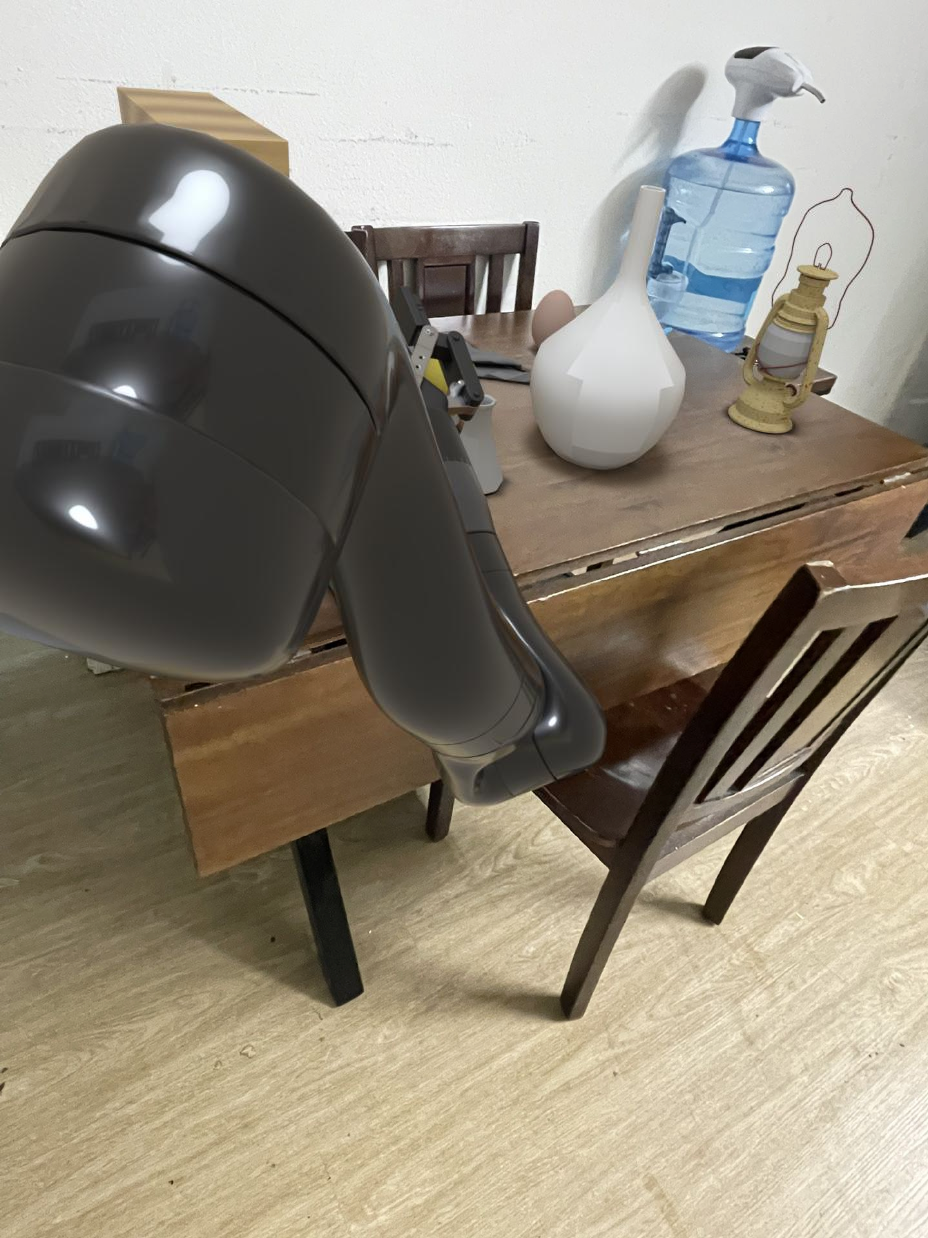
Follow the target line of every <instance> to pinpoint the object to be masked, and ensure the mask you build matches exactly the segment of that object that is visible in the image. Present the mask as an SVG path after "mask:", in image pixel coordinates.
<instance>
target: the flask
mask: <svg viewBox="0 0 928 1238" xmlns="http://www.w3.org/2000/svg"><path fill="white" fill-rule="evenodd" d="M497 401H498V400H497V399H496V398H494V397H493V396H491V395H490V394H486V393H484V399H483V401H482V402H481V404H480V406H479V407H478V409H477V411H476V412H475V414H474V416H473V418H472V419H471V420H470V421H464V422H463V426H462V429H461V432H460V433H459V435H460V438H461V440H462V442H463V445H464V447H465V450H466V452H467V455H468V457H469V459H470V462H471V464H472V466H473V469H474V471H475V473H476V476H477V478H478V481H479V483H480V485H481V488H482V490H483V493H484V495H486V494H490V493H495V492H497V490H498V489H499V487H500V486H501V484H502V483H503V481H504V477H503V472H502V468H501V465H500V461H499V456H498V454H497V448H496V443H495V439H494V433H493V420H492V419H493V418H492V417H493V411H494V409H493V408H494V407H495V406H496V405H497Z"/></svg>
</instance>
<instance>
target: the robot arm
mask: <svg viewBox="0 0 928 1238" xmlns="http://www.w3.org/2000/svg"><path fill="white" fill-rule="evenodd" d="M391 305H392V306H391ZM400 328H401V329H400ZM401 330H402V332H401ZM448 332H449V333H448V334H443V333H442V332H440V331H438V329H437V328H436V327H435V326H434V325H432V324H431V321H430V319H429V317H428V314H427V312H426V310H425V307H424V306H423V302H422V300H421V298H420V297H419V296H418V295H417V293H413V292H412V289H411V288H410V285H409V286H408V285H401V286H397V288H396V290H395V294H394V296H393V298H392V303H390V302H389V300H388V298H387V295H386V293H385V292H384V290H383V288H382V286H381V284H380V282H379V280H378V278H377V276H376V274H375V272H374V271H373V270H372V268H371V266H370V265H369V263H368V261H367V260H366V258H365V257H364V255H363V254H362V252H361V251H360V249H359V247H357V245H355V243H354V242H353V241H352V240H351V238H350V237H349V236H348V235H347V233H345V231H344V230H343V229H342V227H341V226H340V225H339V224H338V223H337V222H336V220H335V219H334V217H333V216H331V214H330V213H329V212H328V211H327V210H326V209H325V208H324V207H323V206H322V205H320V203H318V202H317V201H316V200H315V199H314V198H313V197H311V195H309V194H308V193H307V192H306V191H305V190H304V189H302V188H301V187H300V186H299V185H298V184H297V183H296V182H295V181H294V180H292V179H291V178H288V177H287V176H285V175H283V174H282V173H280V172H279V171H277V170H276V169H274V168H272V167H271V166H269V165H268V164H266V163H265V162H263V161H262V160H260V159H258V158H257V157H255V156H254V155H252V154H250V153H249V152H247V151H245V150H243V149H241V148H239V147H236V146H234V145H232V144H229V143H227V142H225V141H222V140H220V139H218V138H215V137H213V136H211V135H208V134H206V133H202V132H198V131H193V130H189V129H184V128H180V127H175V126H171V125H166V124H158V123H125V124H122V123H117V124H113V125H110V126H107V127H104V128H102V129H99V130H96V131H94V132H92V133H90V134H87V135H84V137H83V138H82V139H80V140H78V142H77V143H76V144H74V145H73V146H72V147H71V148H70V149H69V150H67V151H66V153H64V154H63V155H62V156H61V157H60V158H58V159H57V160H56V162H55V163H54V165H53V166H52V167H51V168H50V169H49V171H48V172H47V174H46V175H45V176H44V177H43V178H42V180H41V181H40V183H39V185H38V186H37V188H36V189H35V191H34V192H33V194H32V196H31V197H30V198H29V200H28V202H27V203H26V205H25V206H24V208H23V209H22V211H21V212H20V214H19V215H18V217H17V219H16V220H15V221H14V222H13V224H12V226H11V227H10V229H9V231H8V232H7V234H6V236H5V238H4V240H3V241H2V242H1V245H0V632H2V633H4V634H8V635H11V636H14V637H17V638H20V639H23V640H26V641H29V642H33V643H35V644H39V645H42V646H45V647H49V648H52V649H56V650H59V651H62V652H66V653H68V654H71V655H75V656H78V657H82V658H86V659H87V660H88V659H89V660H92V661H95V662H98V663H101V664H105V665H107V666H111V667H115V668H119V669H122V670H123V669H124V670H127V671H132V672H136V673H140V674H144V675H147V676H148V675H149V676H152V677H159V678H165V679H171V680H178V681H183V682H188V683H189V682H190V683H207V684H231V683H241V682H250V681H255V680H258V679H262V678H265V677H268V676H270V675H272V674H275V673H277V672H278V671H279V670H281V669H282V668H284V667H285V666H286V665H288V663H290V661H292V660H293V658H295V657H296V655H297V654H298V652H299V650H300V648H301V647H302V645H303V644H304V642H305V640H306V639H307V637H308V635H309V633H310V631H311V628H312V627H313V624H314V623H315V620H316V618H317V616H318V613H319V612H320V611H319V610H320V608H321V606H322V604H323V601H324V599H325V596H326V594H327V591H328V588H329V587H330V585H329V583H330V581H331V584H332V588H333V590H332V592H333V591H334V592H333V594H334V598H335V601H336V607H337V610H338V614H339V617H340V622H341V625H342V630H343V634H344V636H345V641H346V644H347V648H348V650H349V653H350V657H351V659H352V662H353V665H354V667H355V670H356V672H357V675H358V677H359V680H360V681H361V683H362V685H363V687H364V689H365V690H366V692H367V694H368V695H369V697H370V698H371V700H372V702H373V703H374V705H376V707H377V708H378V709H379V711H380V712H381V713H382V714H383V715H384V716H385V717H386V718H387V719H388V720H389V721H391V723H393V725H395V726H396V727H398V728H399V729H401V730H402V731H403V732H405V733H407V734H408V735H410V736H412V737H413V738H414V739H416V740H418V741H419V742H421V743H422V744H424V745H425V746H426V747H428V748H429V749H430V751H431V755H432V759H433V762H434V765H435V767H436V770H437V772H438V775H439V777H440V780H441V781H442V782H443V785H444V786H445V788H446V789H447V791H448V792H449V793H450V794H451V796H452V798H454V799H455V800H457V801H458V802H459V803H461V804H462V805H465V806H469V807H476V808H485V807H490V806H495V805H498V804H502V803H504V802H507V801H510V800H512V799H514V798H517V797H520V796H522V795H525V794H527V793H530V792H533V791H535V790H538V789H540V788H543V787H546V786H548V785H550V784H552V783H555V782H557V781H558V780H564V779H565V778H569V777H571V776H573V775H576V774H579V773H582V772H583V771H586V770H588V769H590V768H591V767H592V766H595V764H596V763H598V761H599V760H600V759H601V758H602V755H603V753H604V751H605V748H606V745H607V739H608V738H607V737H608V725H607V718H606V715H605V712H604V709H603V706H602V705H601V703H600V700H599V699H598V697H597V695H596V693H594V691H593V689H592V688H591V687H590V686H589V684H588V683H587V681H586V680H585V679H584V678H583V676H582V675H581V674H580V673H579V672H578V671H577V669H576V668H575V667H574V665H573V664H572V663H571V662H570V661H569V659H568V658H567V657H566V656H565V655H564V654H563V652H562V651H561V650H560V648H558V646H557V645H556V644H555V642H554V641H553V639H551V638H550V636H549V635H548V632H546V630H545V629H544V628H543V626H542V625H541V624H540V622H539V620H538V619H537V617H536V615H535V614H534V612H533V611H532V609H531V607H530V605H529V604H528V602H527V600H526V598H525V596H524V595H523V593H522V590H521V589H520V587H519V584H518V582H517V579H516V578H515V575H514V574H513V573H514V572H513V570H512V568H511V566H510V564H509V561H508V559H507V556H506V554H505V551H504V549H503V547H502V544H501V542H500V539H499V537H498V534H497V532H496V528H495V525H494V521H493V516H492V513H491V510H490V506H489V504H488V500H487V497H486V494H484V493H483V490H482V488H481V485H480V483H479V481H478V478H477V476H476V473H475V471H474V469H473V466H472V464H471V462H470V459H469V457H468V455H467V452H466V450H465V447H464V445H463V442H462V440H461V438H460V433H459V430H458V429H457V425H455V423H454V421H453V419H452V417H451V416H450V415H454V414H457V415H458V417H459V420H461V421H462V422H463V421H464V422H465V421H470V420H471V419H472V418H473V416H474V414H475V412H476V411H477V409H478V407H479V406H480V404H481V402H482V401H483V399H484V394H485V392H484V389H483V387H482V386H483V385H482V384H481V381H480V377H478V376H477V373H476V370H475V367H474V365H473V362H472V359H471V357H470V354H469V351H468V348H467V346H466V343H465V341H466V340H465V338H464V336H463V334H462V333H461V332H459V331H458V330H450V331H448ZM402 333H403V335H404V338H405V340H406V343H407V345H408V346H413V347H414V350H413V352H412V353H411V355H410V350H409V348H408V346H407V345H406V343H405V340H404V338H403V335H402ZM430 358H432V359H437V360H438V361H439V364H440V367H441V370H442V373H443V376H444V378H445V381H446V384H447V387H448V391H447V393H446V395H445V393H444V392H443V391H442V390H440V389H439V388H438V387H436V386H435V385H434V384H432V383H431V382H430V381H429V380H427V379H426V378H425V377H423V376H424V373H425V371H426V368H427V365H428V363H429V360H430ZM332 588H331V589H332Z"/></svg>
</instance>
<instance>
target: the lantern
mask: <svg viewBox="0 0 928 1238" xmlns="http://www.w3.org/2000/svg"><path fill="white" fill-rule="evenodd" d="M846 190H847V191H850V202H851V204H852V206H853V207H854V209H856V211H857V212H858V213H859V214H860V215H861V216H862V217H863V218H864V219H865V220H866V222H867V223H868V225H869V226H870V229H871V235H872V237H871V243H870V246H869V249H868V252H867V255H866V258H865V259H864V262H863V264H862V265H861V268H859V270H858V272H856V274H855V275H854V276H853V277H852V278H851V280H850V281H849V283H848V284H847V285H846V287H845V288H844V290H843V291H844V292H843V293H842V296H841V298H840V300H839V303H838V308H837V312H836V315H835V317H834V320H833V322H832V325H831V326H829V325H830V317H829V314H828V312H827V310H826V309H825V308H824V306H825V303H826V301H827V300H828V299H827V296H826V295H824V292H825V289H826V288H828V287H829V285H830V283H831V281H835V280H838V279H839V277H840V275H839V273H837V272H836V271H834V270H832V269H830V268H827V267H828V265H829V263H830V261H831V259H832V256H833V248H832V246H831V244H830V243H829V242H824V243H822V244H821V245H819V247H817V249H816V252H815V254H814V259H813V263H812V264H800V265H797V266H796V271H797V272H798V273H800V274H799V277H798V286H797V288H792V289H791V290H790V292H786V293H783V294H781V295H780V296H779V297H777V299H775V301H774V295H775V293H776V291H777V289H778V288H779V286H780V284H781V283H782V282H783V280H784V279H785V278H786V276H787V273H788V269H789V267H790V262H791V260H792V257H793V255H794V247H795V243H796V238H797V235H798V233H799V231H800V228H801V227H802V225H803V223H804V221H805V219H806V217H807V215H808V214H809V213H810V211H811V210H812V209H814V208H815V207H817V206H820V205H821V204H824V203H829V202H832V201H834V200H836V199H838V198H839V197H840V196H841V195H842V193H843V192H844V191H846ZM853 196H854V190H853V189H852V188H850V187H844V188H842V189H841V191H840V192H839V194H837V195H836V196H835V197H833V198H830V199H826V200H822V201H820V202H818V203H816V204H814V205H812V206H811V207H809V208H808V209H807V211H806V212H805V213H804V215H803V217H802V219H801V222H800V224H799V225H798V228H797V229H796V231H795V233H794V235H793V239H792V245H791V250H790V251H791V252H790V255H789V259H788V261H787V264H786V268H785V271H784V274H783V276H782V277H781V279H780V280H779V282H778V283H777V285H776V286H775V288H774V290H773V291H772V294H771V308H770V309H769V312H768V313H767V316H766V318H765V320H764V321H763V323H762V325H761V327H760V329H759V331H758V333H757V334H756V336H755V338H754V341H753V342H752V344H751V347H750V348H749V350H748V353H747V355H746V357H745V359H744V362H743V365H742V377H743V381H744V383H745V384H746V385H748V386H747V387H746V388H744V389H743V390H742V391H741V392H740V393H739V395H738V397H737V400H736V402H735V404H732V405H731V406H730V407H729V408H728V410H727V413H728V415H729V418H730V419H731V420H732V421H733V422H735V423H736V424H738V425H740V426H742V427H744V428H747V429H749V430H752V431H757V432H762V433H769V434H784V433H787V432H789V431H791V430H792V429H793V421H792V420H791V418H792V417H791V416H792V414H793V412H794V409H798V408H799V407H801V406H802V405H803V404H804V403H805V402H806V401H807V400H808V398H809V397H810V395H811V391H812V388H813V385H814V382H815V378H816V375H817V372H818V368H819V364H820V362H821V356H822V353H823V349H824V346H825V341H826V337H827V334H828V330H831V329H832V328H833V327H834V326H835V323H836V321H837V319H838V317H839V314H840V310H841V307H842V302H843V299H844V298H845V296H846V293H847V291H848V289H849V287H850V285H851V284H852V283H853V282H854V280H855V279H856V278H857V277H858V275H859V274H860V273H861V272H862V270H863V269H864V267H865V265H866V264H867V262H868V259H869V257H870V255H871V252H872V248H873V245H874V242H875V241H874V240H875V229H874V227H873V224H872V222H871V221H870V219H869V218H868V217H867V216H866V215H865V214H864V212H863V211H862V210H861V209H860V208H859V207H858V206H857V204H856V203H855V202H854V200H853ZM825 245H827V246H828V247H829V250H830V255H829V258H828V259H827V262H826V265H825V266H822V264H823V263H820V262H818V264H817V265H816V259H817V255H818V252H819V250H820V249H821V247H823V246H825ZM756 361H757V363H756ZM755 364H756V367H757V368H756V371H757V373H759V374H760V375H761V376H762V379H761V380H759V379H758V378H757V377H756V376H755V375H754V366H755ZM802 372H804V373H803V374H804V375H803V376H802V380H801V383H800V387H799V390H798V389H797V387H796V386H795V385H794V384H792V383H793V382H796V381H797V379H798V378H800V376H801V374H802ZM786 383H788V384H786Z"/></svg>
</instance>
